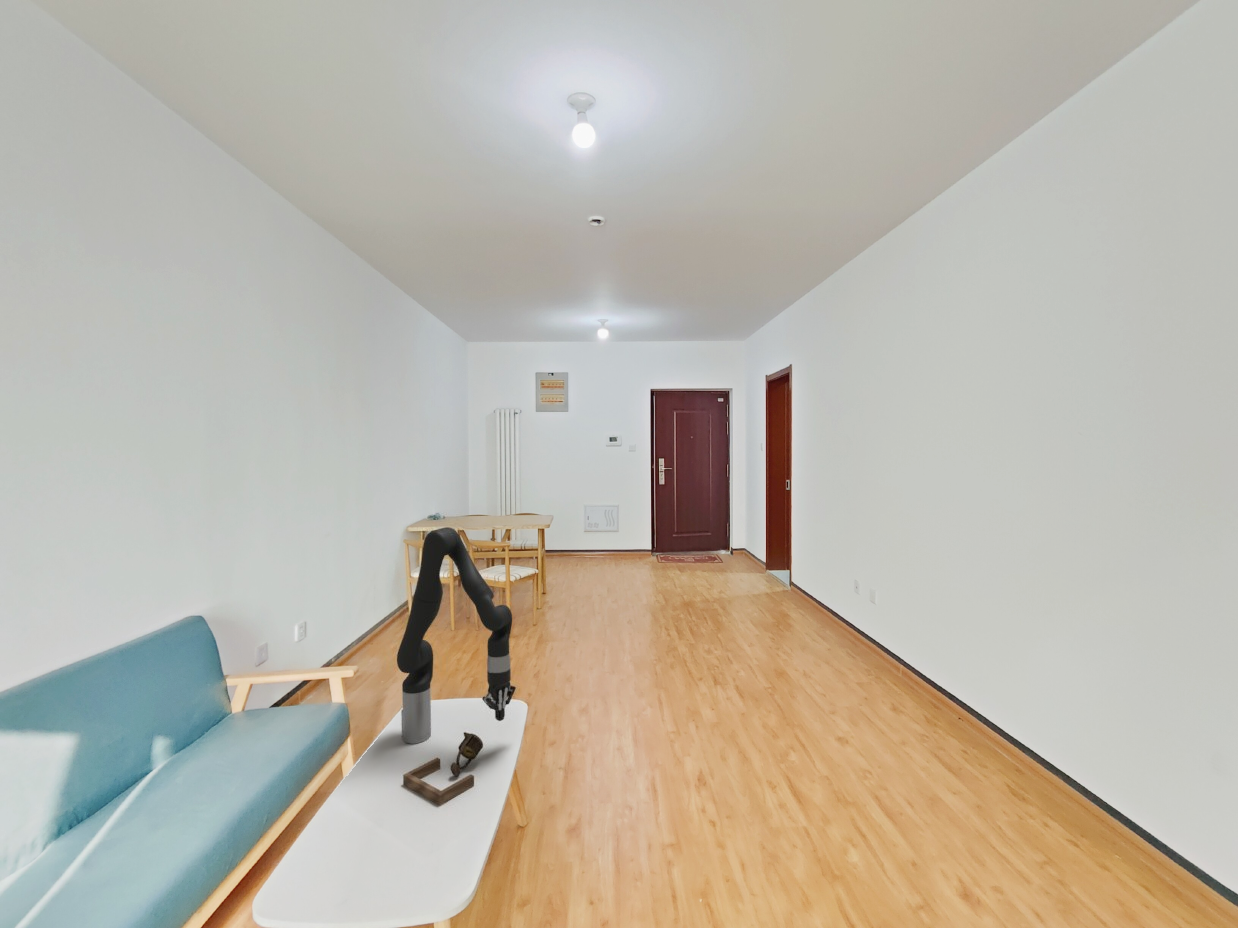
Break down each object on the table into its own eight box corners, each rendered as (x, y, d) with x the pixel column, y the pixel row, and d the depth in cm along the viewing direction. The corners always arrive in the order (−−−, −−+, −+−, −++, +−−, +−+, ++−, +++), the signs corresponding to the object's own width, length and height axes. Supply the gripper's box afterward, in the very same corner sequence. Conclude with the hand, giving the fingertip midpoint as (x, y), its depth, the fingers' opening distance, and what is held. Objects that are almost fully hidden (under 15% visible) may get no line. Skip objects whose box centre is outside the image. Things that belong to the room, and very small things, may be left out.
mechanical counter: (486, 758, 188) (485, 727, 188) (472, 780, 176) (472, 748, 175) (464, 757, 189) (464, 726, 189) (449, 779, 176) (448, 746, 176)
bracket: (403, 784, 174) (403, 774, 174) (437, 766, 183) (437, 757, 183) (440, 805, 163) (439, 794, 163) (474, 785, 173) (473, 775, 173)
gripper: (506, 659, 200) (507, 709, 200) (475, 671, 189) (476, 724, 189) (521, 663, 195) (522, 715, 195) (491, 676, 184) (492, 730, 185)
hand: (499, 719), depth 192 cm, fingers closed
